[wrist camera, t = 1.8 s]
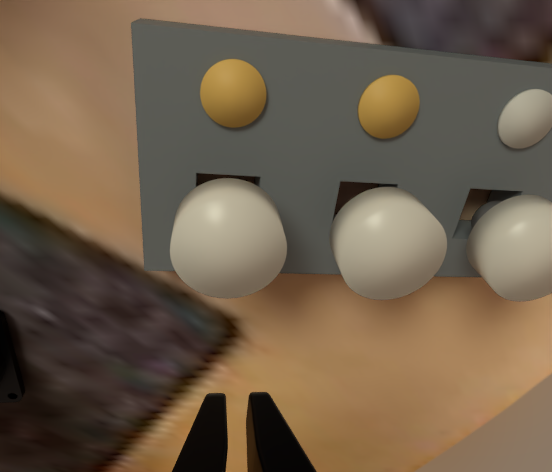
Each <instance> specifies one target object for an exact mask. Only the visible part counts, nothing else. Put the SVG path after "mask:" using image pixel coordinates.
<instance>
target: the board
mask: <svg viewBox="0 0 552 472" xmlns="http://www.w3.org/2000/svg"><path fill="white" fill-rule="evenodd" d="M131 29H132V48H133V66H134V85H135V104H136V122H137V141H138V159H139V178H140V197H141V215H142V234H143V252H144V270H146V271H175V269H174V267H173V265H172V262H171V258H170V243H171V237H172V231H173V226H174V220H175V215H176V212H177V209H178V207H179V205H180V203H181V201H182V200H183V199H184V197H185V196H186V195H187V194H188V193H189V192H190V191H192V190H193V189H194V188H196V187H197V179H198V173H204V174H222V175H240V176H255V183H254V184H255V185H257V186H258V187H260V188H261V189H263V190H264V191H265V192H266V193H267V194H268V195H269V196H270V197H271V198H272V200H273V201H274V203H275V205H276V207H277V209H278V212H279V215H280V219H281V223H282V226H283V230H284V234H285V237H286V242H287V255H286V259H285V262H284V265H283V267H282V269H281V271H280V272H279V273H295V274H341V272H340V269H339V267H338V265H337V262H336V260H335V258H334V255H333V253H332V251H331V248H330V243H329V235H330V229H331V225H332V223H333V220H334V218H335V217H336V215H335V214H334V211H335V206H336V201H337V196H338V191H339V186H340V181H347V182H365V183H379V185H378V188H379V187H396V188H400V189H403V190H406V191H408V192H410V193H411V194H413V195H414V196H415V197H416V198H417V199H418V200H419V201H420V202H421V203H422V204H423V205H424V206H425V207H426V208H427V209H428V210H429V212H430V213H431V214H432V215H433V216H434V217H435V218H436V219H437V220H438V221H439V222H440V224H441V225H442V227H443V229H444V231H445V234H446V238H447V250H446V255H445V258H444V261H443V263H442V265H441V267H440V268H439V270H438V271H437V273H436V274H435V275H434V276H444V277H481V276H480V274H479V273H478V272H477V271H476V270H475V269H474V268H473V267H472V265H471V264H470V262H469V261H468V258H467V253H466V246H467V241H468V238H469V235H470V233H471V230H472V227H471V220H459V218H460V216H461V213H462V210H463V207H464V205H465V202H466V199H467V196H468V194H469V191H470V188H472V189H490V190H492V191H491V193H490V196H489V198H488V201H487V203H488V202H491V201H501V202H502V201H504V200H506V199H509V198H512V197H515V196H519V195H538V196H541V197H544V198H546V199H547V200H549V201H551V202H552V64H549V63H540V62H531V61H522V60H513V59H504V58H495V57H486V56H477V55H468V54H459V53H450V52H440V51H431V50H422V49H413V48H404V47H395V46H386V45H377V44H368V43H359V42H350V41H341V40H332V39H323V38H313V37H304V36H295V35H286V34H277V33H268V32H259V31H250V30H241V29H232V28H223V27H214V26H205V25H195V24H186V23H177V22H168V21H159V20H150V19H141V18H140V19H138V20H136V21H134V22H132V23H131Z"/></svg>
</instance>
